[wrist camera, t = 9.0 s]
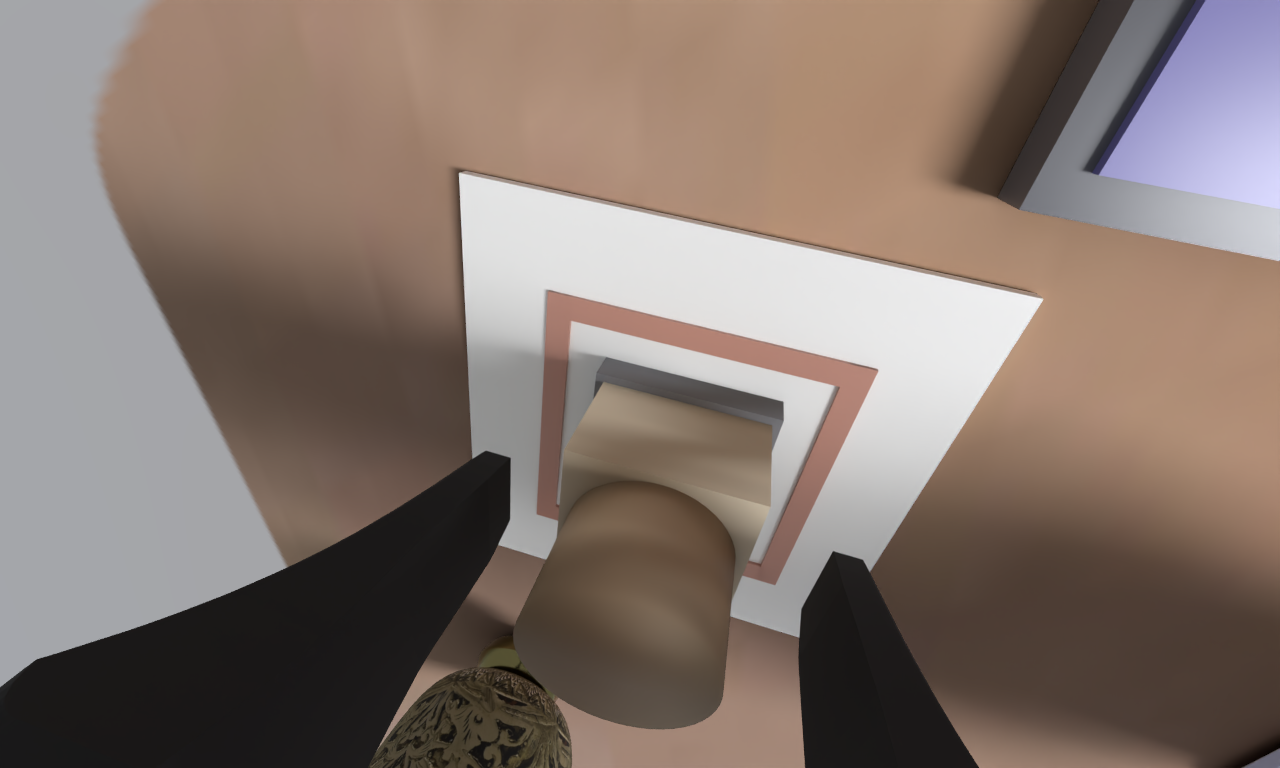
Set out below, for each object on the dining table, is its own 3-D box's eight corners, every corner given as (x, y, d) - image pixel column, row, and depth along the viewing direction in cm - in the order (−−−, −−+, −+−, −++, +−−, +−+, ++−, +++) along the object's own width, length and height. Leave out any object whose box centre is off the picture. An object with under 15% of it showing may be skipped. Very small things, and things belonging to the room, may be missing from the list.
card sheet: (1037, 293, 10) (1046, 301, 9) (822, 636, 16) (823, 647, 16) (466, 170, 11) (456, 173, 11) (480, 531, 18) (474, 540, 17)
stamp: (783, 401, 12) (786, 636, 7) (737, 526, 14) (713, 768, 9) (606, 356, 12) (488, 544, 7) (589, 484, 15) (492, 691, 10)
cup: (417, 597, 21) (248, 838, 14) (571, 594, 18) (452, 889, 12) (495, 700, 24) (387, 937, 17) (636, 711, 21) (571, 994, 15)
